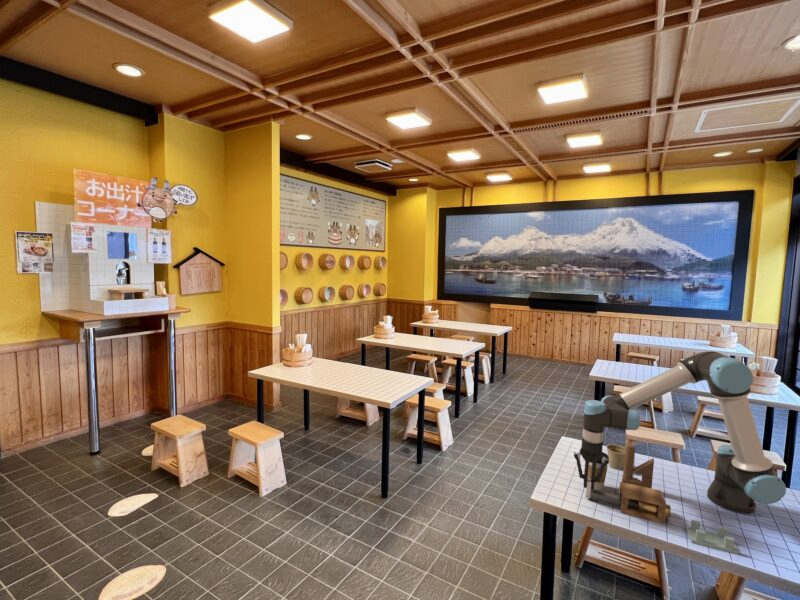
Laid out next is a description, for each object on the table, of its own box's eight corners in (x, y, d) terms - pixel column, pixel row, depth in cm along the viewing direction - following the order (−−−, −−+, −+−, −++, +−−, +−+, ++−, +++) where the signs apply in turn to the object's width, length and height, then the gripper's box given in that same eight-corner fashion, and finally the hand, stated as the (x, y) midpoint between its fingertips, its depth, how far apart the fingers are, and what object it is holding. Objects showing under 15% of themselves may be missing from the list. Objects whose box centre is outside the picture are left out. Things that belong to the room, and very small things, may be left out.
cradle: (729, 539, 139) (731, 528, 139) (738, 554, 132) (740, 542, 131) (685, 528, 144) (686, 517, 144) (691, 542, 137) (692, 531, 136)
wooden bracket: (651, 494, 166) (655, 452, 164) (621, 486, 171) (625, 445, 169) (650, 489, 169) (654, 449, 167) (621, 482, 174) (625, 442, 173)
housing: (658, 508, 155) (660, 490, 155) (664, 523, 147) (666, 503, 146) (618, 499, 161) (620, 481, 160) (621, 512, 152) (622, 493, 152)
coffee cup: (587, 479, 176) (590, 446, 174) (608, 486, 170) (611, 452, 169) (582, 487, 169) (584, 453, 168) (604, 495, 164) (606, 460, 162)
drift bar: (637, 508, 156) (638, 500, 155) (638, 512, 153) (639, 504, 153) (589, 495, 163) (590, 488, 163) (589, 499, 161) (590, 492, 160)
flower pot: (627, 465, 189) (629, 447, 189) (626, 473, 181) (628, 455, 181) (605, 459, 194) (607, 442, 194) (603, 467, 186) (605, 449, 186)
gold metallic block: (667, 512, 152) (669, 502, 151) (669, 522, 148) (671, 511, 147) (637, 505, 157) (638, 494, 155) (638, 514, 153) (639, 503, 151)
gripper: (609, 439, 160) (605, 494, 162) (574, 432, 165) (570, 486, 167) (611, 446, 153) (606, 504, 155) (574, 440, 158) (570, 496, 160)
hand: (587, 495), depth 161 cm, fingers closed
